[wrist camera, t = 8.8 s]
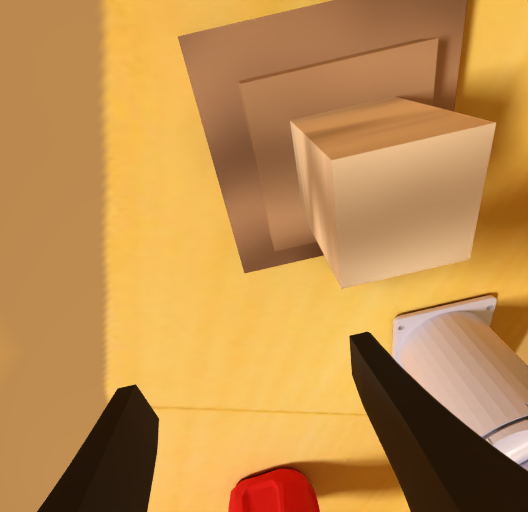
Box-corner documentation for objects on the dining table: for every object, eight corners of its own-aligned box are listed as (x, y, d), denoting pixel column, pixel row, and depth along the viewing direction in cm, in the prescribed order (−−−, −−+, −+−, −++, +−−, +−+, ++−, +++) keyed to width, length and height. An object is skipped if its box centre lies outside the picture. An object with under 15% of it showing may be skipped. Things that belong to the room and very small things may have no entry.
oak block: (391, 194, 16) (470, 259, 11) (303, 214, 16) (341, 288, 11) (393, 96, 14) (496, 122, 9) (289, 120, 14) (331, 160, 9)
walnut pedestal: (425, 217, 21) (454, 241, 18) (243, 259, 21) (246, 288, 18) (448, -25, 14) (499, -41, 12) (181, 38, 14) (173, 35, 12)
